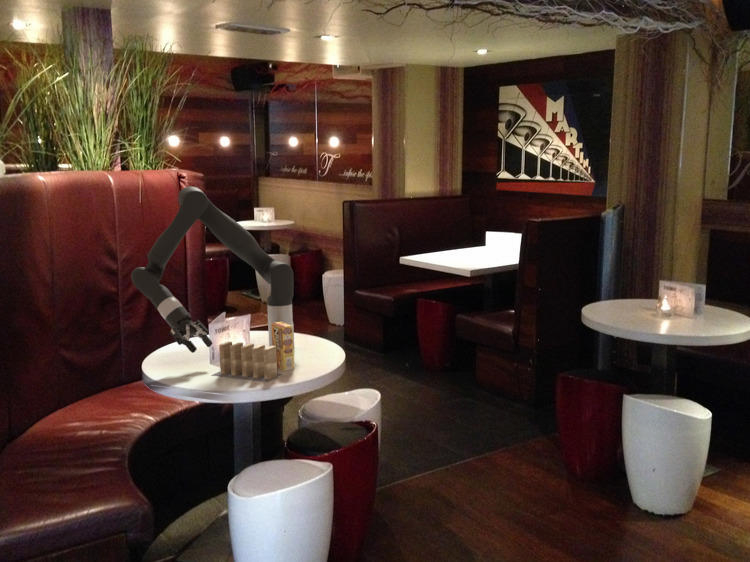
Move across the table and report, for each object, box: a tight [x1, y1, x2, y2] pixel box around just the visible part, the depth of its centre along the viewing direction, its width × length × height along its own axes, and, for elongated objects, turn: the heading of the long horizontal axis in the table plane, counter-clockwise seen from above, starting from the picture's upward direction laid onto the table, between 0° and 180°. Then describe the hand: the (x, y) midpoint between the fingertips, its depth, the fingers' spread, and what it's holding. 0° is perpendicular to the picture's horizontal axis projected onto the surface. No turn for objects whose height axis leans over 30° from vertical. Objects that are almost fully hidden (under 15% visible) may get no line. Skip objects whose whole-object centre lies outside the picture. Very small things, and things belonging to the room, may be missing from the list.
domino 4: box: [252, 344, 266, 378], centre depth 235 cm, size 2×5×10 cm, turn 156°
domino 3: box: [241, 343, 255, 377], centre depth 237 cm, size 2×5×10 cm, turn 156°
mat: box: [210, 370, 284, 383], centre depth 238 cm, size 10×22×1 cm, turn 66°
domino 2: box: [230, 342, 244, 376], centre depth 238 cm, size 2×5×10 cm, turn 156°
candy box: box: [271, 322, 295, 371], centre depth 246 cm, size 9×4×15 cm, turn 33°
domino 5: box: [263, 346, 278, 380], centre depth 233 cm, size 2×5×10 cm, turn 156°
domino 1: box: [218, 340, 233, 374], centre depth 240 cm, size 2×5×10 cm, turn 157°
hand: (202, 348), depth 243 cm, fingers open, 8 cm apart
